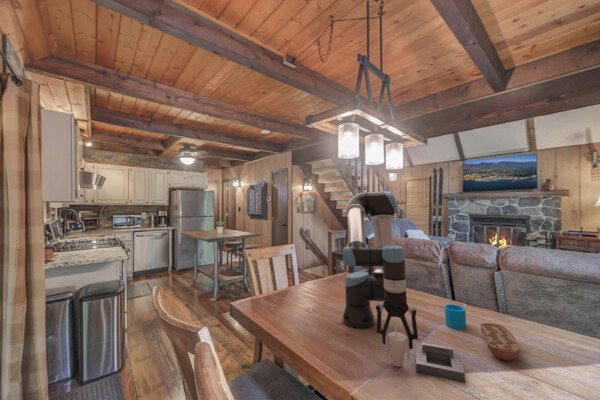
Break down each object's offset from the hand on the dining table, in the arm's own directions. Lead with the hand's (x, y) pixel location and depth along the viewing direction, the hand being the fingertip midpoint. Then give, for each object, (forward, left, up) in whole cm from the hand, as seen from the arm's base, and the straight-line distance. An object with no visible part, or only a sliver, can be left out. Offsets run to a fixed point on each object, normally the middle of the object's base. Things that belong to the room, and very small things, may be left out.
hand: (397, 355), depth 91 cm
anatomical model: (+35, +25, -4) cm, 43 cm away
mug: (+23, +43, -4) cm, 49 cm away
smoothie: (0, 0, -3) cm, 3 cm away
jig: (+13, +3, -3) cm, 14 cm away
